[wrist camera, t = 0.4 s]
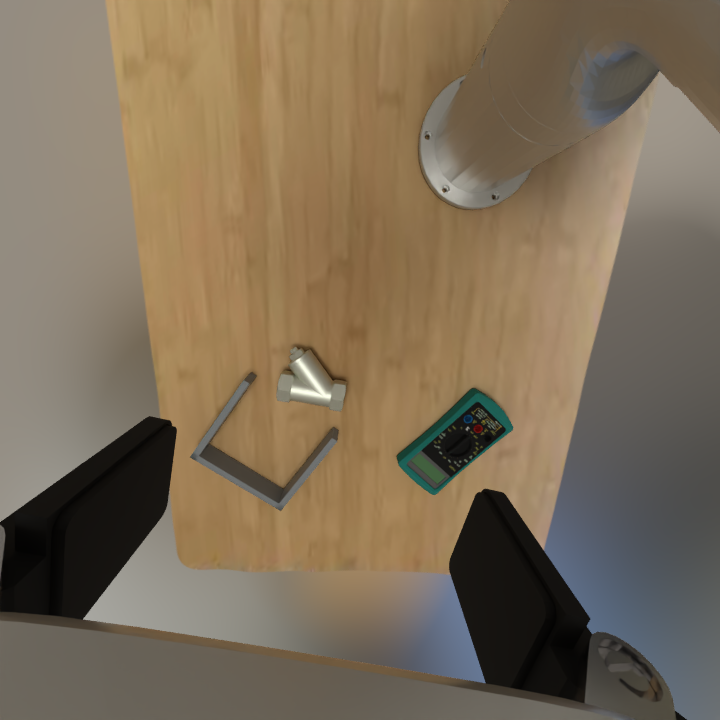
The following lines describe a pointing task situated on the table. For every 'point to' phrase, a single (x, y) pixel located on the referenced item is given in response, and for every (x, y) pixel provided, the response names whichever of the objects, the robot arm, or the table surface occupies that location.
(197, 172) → the table surface
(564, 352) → the table surface
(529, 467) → the table surface
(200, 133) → the table surface
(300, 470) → the gray u-shaped frame
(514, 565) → the robot arm
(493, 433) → the digital multimeter
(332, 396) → the pipe fitting
